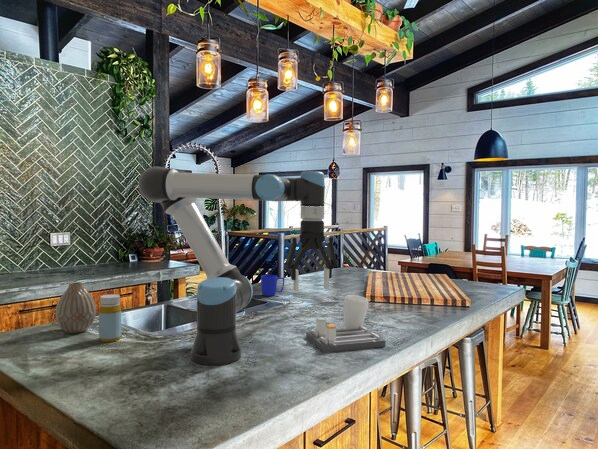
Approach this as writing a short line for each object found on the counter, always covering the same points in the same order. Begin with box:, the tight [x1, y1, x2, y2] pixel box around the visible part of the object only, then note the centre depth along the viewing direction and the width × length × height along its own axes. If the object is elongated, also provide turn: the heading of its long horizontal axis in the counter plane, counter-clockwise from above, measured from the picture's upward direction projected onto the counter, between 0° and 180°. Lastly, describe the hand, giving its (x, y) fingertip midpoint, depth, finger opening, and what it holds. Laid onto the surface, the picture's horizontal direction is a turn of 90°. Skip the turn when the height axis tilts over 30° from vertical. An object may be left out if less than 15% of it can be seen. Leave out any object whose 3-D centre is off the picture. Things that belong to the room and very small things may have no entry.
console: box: [305, 326, 386, 353], centre depth 152 cm, size 22×18×3 cm
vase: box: [55, 281, 97, 334], centre depth 161 cm, size 13×13×18 cm
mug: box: [260, 274, 285, 297], centre depth 227 cm, size 8×12×10 cm
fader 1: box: [315, 317, 327, 334], centre depth 154 cm, size 2×3×5 cm
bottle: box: [98, 293, 123, 343], centre depth 151 cm, size 7×7×15 cm
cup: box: [342, 294, 369, 328], centre depth 165 cm, size 9×9×12 cm
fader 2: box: [326, 323, 337, 342], centre depth 146 cm, size 2×3×5 cm
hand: (311, 289), depth 143 cm, fingers open, 10 cm apart
